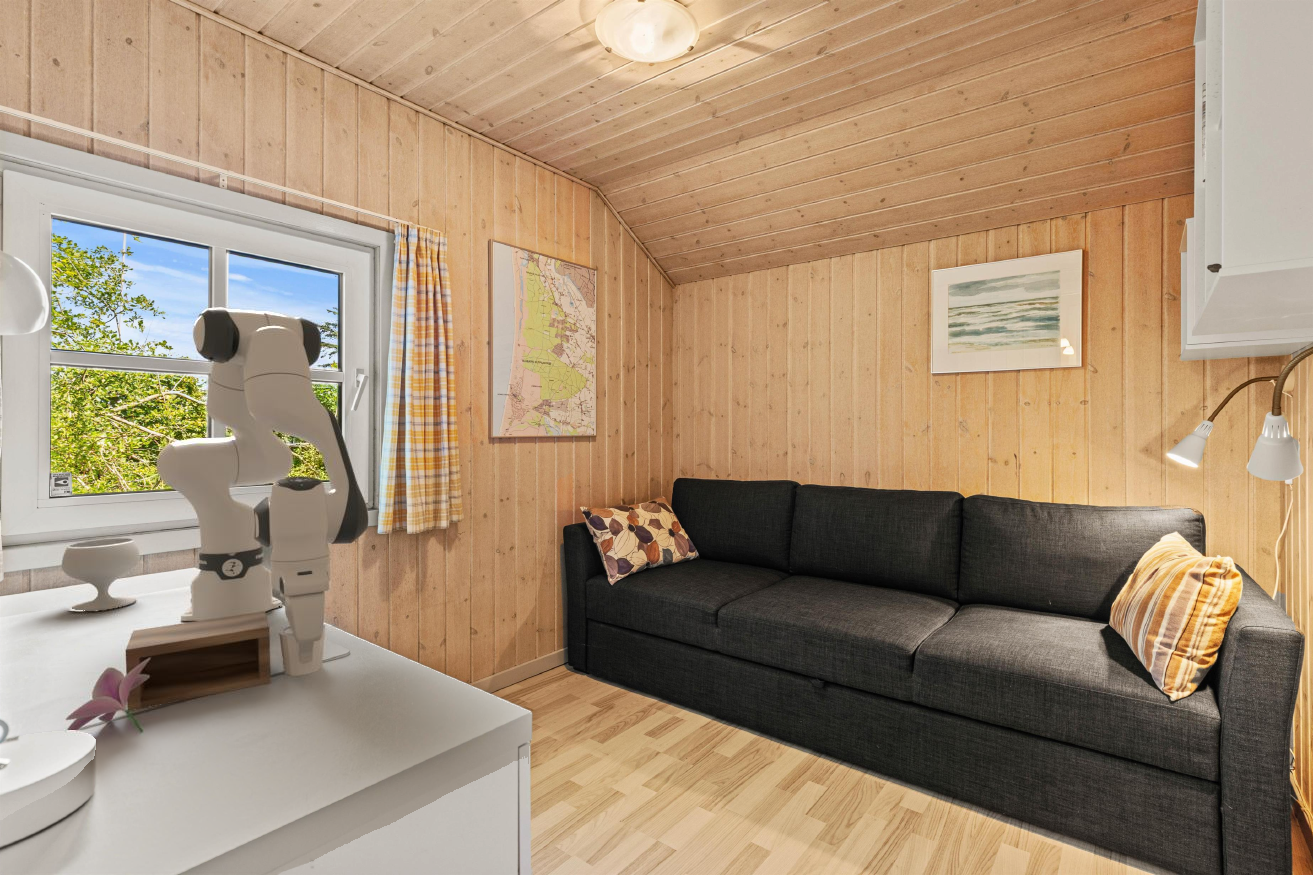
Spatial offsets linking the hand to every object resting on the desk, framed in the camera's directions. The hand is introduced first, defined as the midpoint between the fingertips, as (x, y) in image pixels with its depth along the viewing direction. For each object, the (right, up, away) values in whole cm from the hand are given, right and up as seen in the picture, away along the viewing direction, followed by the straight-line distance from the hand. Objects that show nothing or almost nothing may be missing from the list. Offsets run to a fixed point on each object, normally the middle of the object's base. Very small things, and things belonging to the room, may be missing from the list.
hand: (303, 655), depth 111 cm
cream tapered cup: (0, -3, 0) cm, 3 cm away
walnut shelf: (-13, -3, -6) cm, 14 cm away
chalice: (-70, -3, +42) cm, 81 cm away
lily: (-14, -3, -22) cm, 26 cm away
